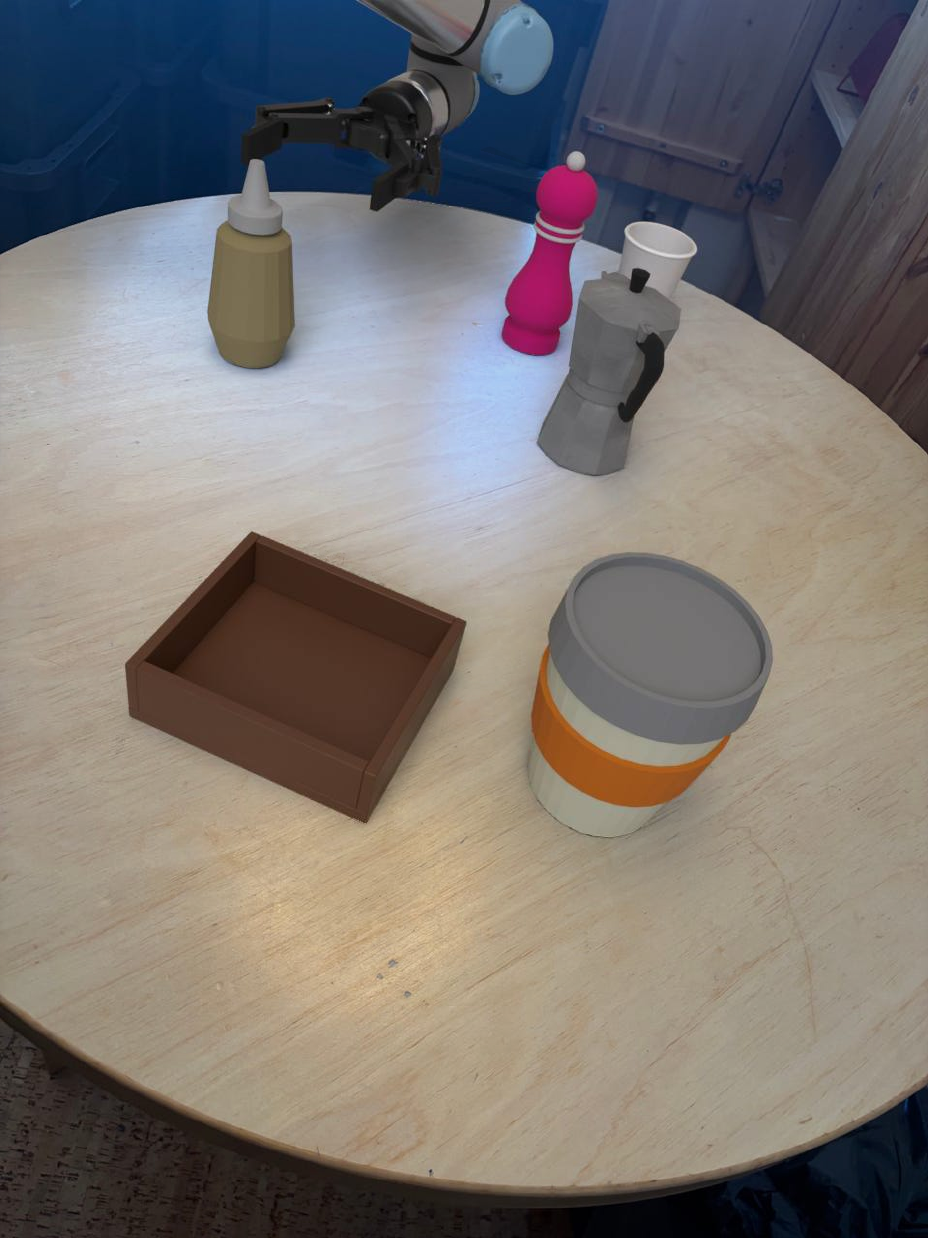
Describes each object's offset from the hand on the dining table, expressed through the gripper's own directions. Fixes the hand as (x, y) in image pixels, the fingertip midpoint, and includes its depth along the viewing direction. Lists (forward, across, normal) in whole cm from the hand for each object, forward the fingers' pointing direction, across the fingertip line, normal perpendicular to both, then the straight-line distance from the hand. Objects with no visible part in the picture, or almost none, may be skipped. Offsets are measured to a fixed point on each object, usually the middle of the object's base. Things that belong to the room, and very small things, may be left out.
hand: (308, 172), depth 89 cm
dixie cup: (-26, -31, -15) cm, 43 cm away
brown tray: (+44, -24, -14) cm, 53 cm away
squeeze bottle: (+10, 0, -15) cm, 18 cm away
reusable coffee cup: (+41, -44, -15) cm, 63 cm away
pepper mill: (-12, -22, -15) cm, 29 cm away
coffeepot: (+5, -33, -15) cm, 37 cm away
